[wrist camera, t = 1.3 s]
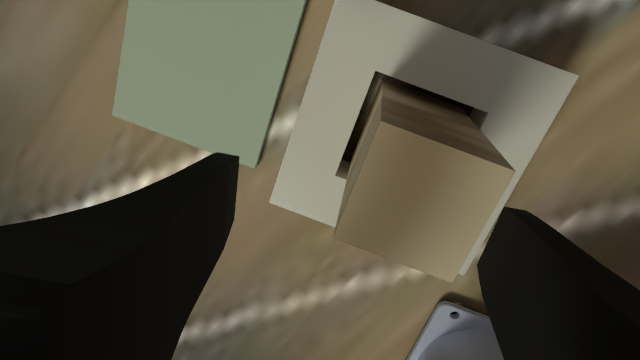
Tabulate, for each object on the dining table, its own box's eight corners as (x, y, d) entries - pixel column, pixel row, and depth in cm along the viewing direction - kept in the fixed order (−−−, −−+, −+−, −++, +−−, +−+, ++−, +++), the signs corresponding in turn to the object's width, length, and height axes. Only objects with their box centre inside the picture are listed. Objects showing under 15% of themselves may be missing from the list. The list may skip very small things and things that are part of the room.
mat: (310, -10, 19) (308, -10, 19) (257, 165, 23) (254, 168, 22) (145, -71, 19) (139, -73, 19) (117, 113, 23) (112, 115, 22)
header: (555, 69, 19) (579, 75, 17) (455, 249, 23) (463, 275, 20) (345, -10, 19) (339, -14, 17) (281, 183, 23) (269, 202, 20)
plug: (461, 108, 20) (515, 171, 12) (426, 180, 22) (452, 283, 13) (382, 78, 20) (380, 120, 12) (352, 153, 22) (332, 237, 13)
